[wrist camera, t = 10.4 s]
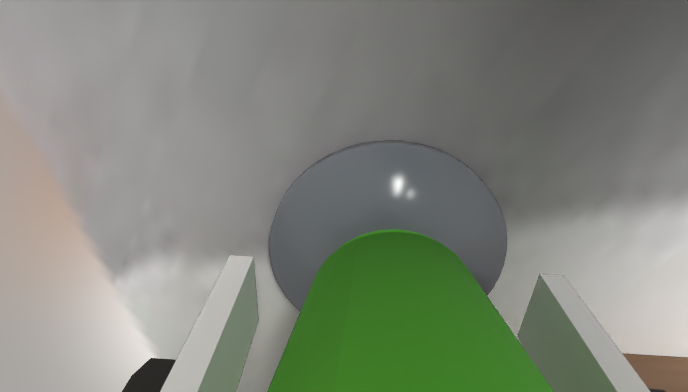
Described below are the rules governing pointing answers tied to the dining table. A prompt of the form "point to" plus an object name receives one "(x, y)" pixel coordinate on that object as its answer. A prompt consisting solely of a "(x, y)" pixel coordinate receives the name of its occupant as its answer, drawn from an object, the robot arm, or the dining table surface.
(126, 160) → the dining table surface
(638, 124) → the dining table surface
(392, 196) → the coaster
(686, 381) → the pocket frame
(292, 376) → the cup
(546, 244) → the dining table surface
